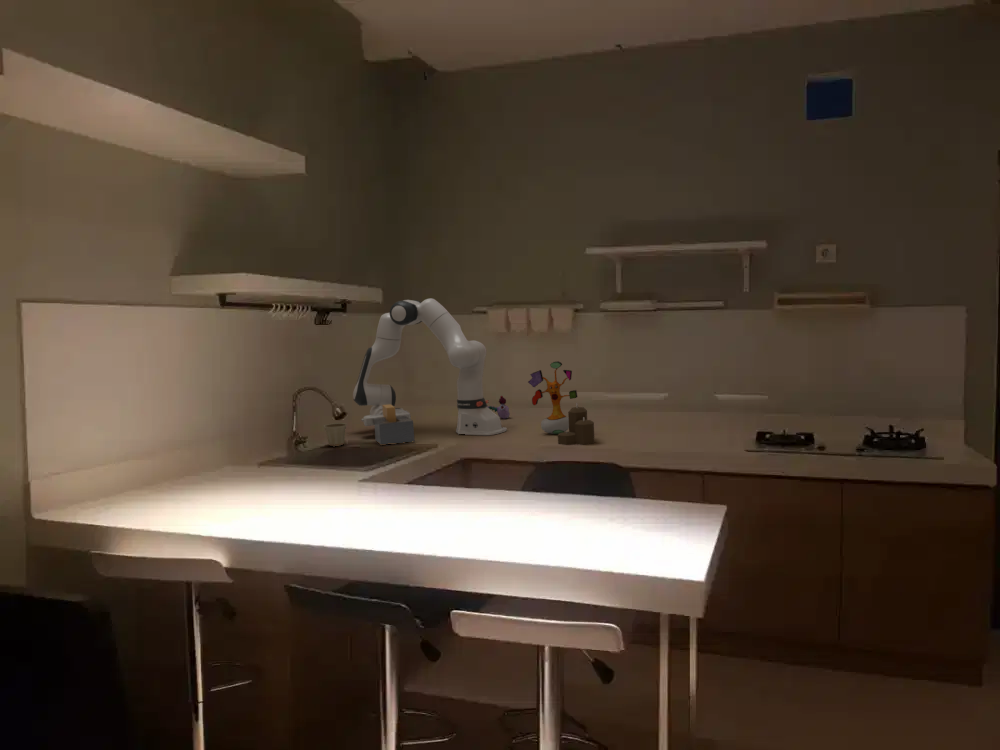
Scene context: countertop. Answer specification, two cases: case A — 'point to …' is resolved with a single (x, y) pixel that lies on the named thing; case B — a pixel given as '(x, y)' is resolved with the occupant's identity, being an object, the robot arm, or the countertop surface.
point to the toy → (501, 408)
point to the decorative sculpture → (553, 400)
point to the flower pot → (335, 433)
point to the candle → (578, 428)
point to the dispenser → (394, 430)
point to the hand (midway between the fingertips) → (390, 421)
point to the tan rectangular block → (389, 413)
